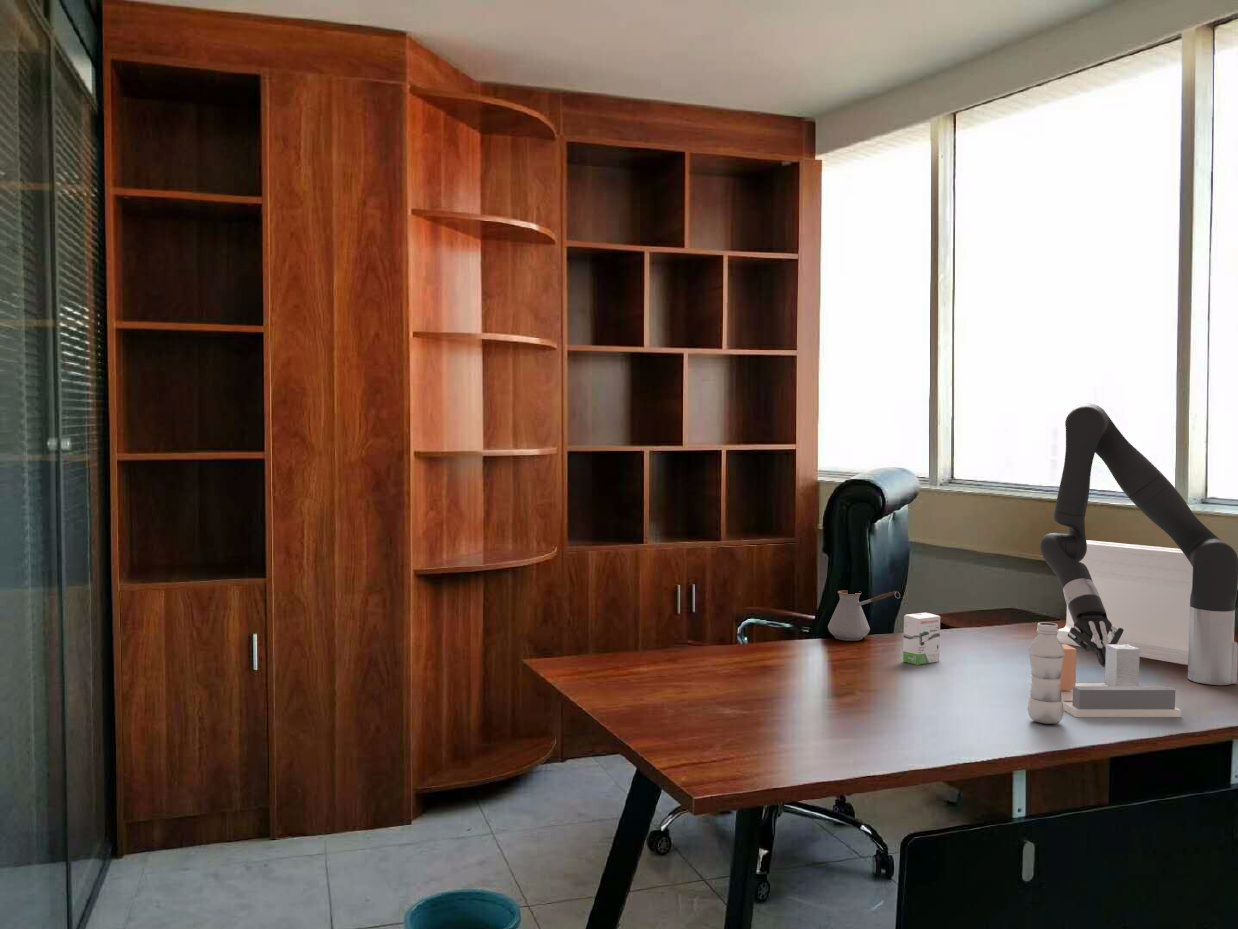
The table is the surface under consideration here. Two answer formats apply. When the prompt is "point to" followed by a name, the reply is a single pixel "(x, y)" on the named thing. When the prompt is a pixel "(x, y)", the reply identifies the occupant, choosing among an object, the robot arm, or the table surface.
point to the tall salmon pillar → (1068, 668)
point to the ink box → (921, 638)
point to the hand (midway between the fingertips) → (1107, 665)
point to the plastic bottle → (1046, 675)
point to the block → (1142, 597)
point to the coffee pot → (851, 616)
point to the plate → (1113, 711)
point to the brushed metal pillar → (1122, 665)
